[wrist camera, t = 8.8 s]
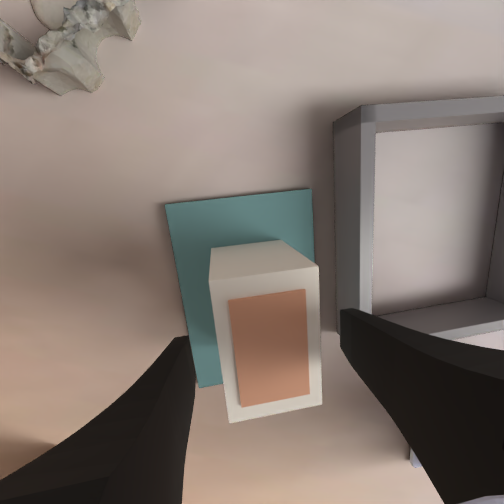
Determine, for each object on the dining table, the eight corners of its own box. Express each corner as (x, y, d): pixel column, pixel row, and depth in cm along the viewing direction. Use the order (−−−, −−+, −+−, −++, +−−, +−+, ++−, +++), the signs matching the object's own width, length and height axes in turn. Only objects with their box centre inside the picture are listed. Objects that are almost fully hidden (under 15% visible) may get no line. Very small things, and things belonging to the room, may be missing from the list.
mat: (316, 361, 19) (318, 364, 19) (199, 384, 18) (198, 388, 18) (309, 188, 16) (311, 188, 15) (165, 204, 15) (164, 204, 14)
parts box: (281, 239, 16) (320, 267, 10) (287, 335, 18) (323, 407, 12) (211, 248, 15) (208, 282, 9) (224, 345, 17) (229, 426, 11)
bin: (492, 304, 20) (539, 322, 17) (336, 332, 19) (359, 358, 16) (523, 107, 17) (588, 89, 14) (333, 122, 15) (361, 105, 12)
